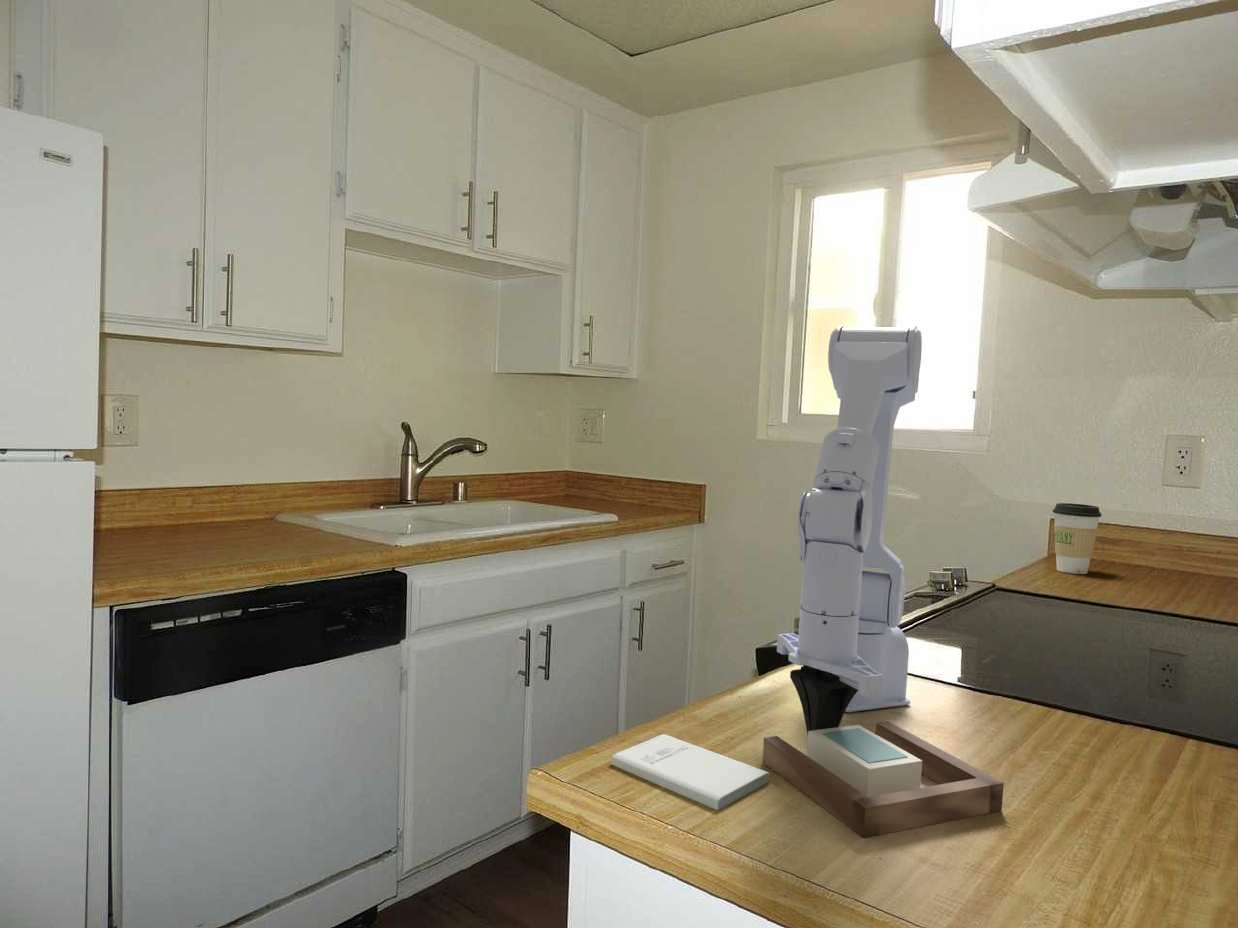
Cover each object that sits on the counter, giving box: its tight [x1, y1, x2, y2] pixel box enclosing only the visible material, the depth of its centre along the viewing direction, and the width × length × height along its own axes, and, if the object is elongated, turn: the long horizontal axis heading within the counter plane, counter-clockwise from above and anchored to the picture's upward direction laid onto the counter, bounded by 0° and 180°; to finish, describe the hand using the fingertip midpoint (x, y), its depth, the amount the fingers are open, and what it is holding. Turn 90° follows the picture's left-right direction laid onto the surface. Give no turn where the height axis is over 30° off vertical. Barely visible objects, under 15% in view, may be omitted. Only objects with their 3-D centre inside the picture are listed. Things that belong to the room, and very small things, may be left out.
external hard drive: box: [610, 733, 771, 811], centre depth 81 cm, size 2×8×12 cm
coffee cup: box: [1052, 502, 1102, 575], centre depth 195 cm, size 10×10×15 cm
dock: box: [762, 721, 1005, 839], centre depth 79 cm, size 15×15×2 cm
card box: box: [806, 724, 922, 797], centre depth 81 cm, size 6×9×4 cm, turn 23°
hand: (821, 743), depth 86 cm, fingers closed
